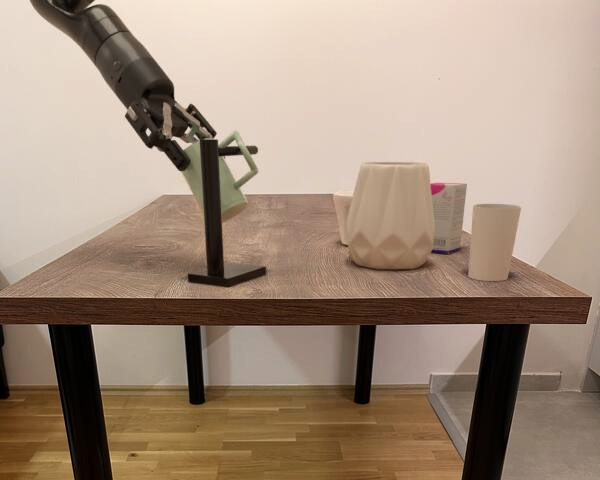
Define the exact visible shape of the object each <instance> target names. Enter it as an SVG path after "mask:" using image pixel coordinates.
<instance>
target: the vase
mask: <svg viewBox="0 0 600 480" xmlns="http://www.w3.org/2000/svg"><path fill="white" fill-rule="evenodd" d="M430 183H431V173H430V166H429V164H427V163H426V162H417V161H365V162H362V163H361V164H360V167H359V170H358V174H357V178H356V182H355V185H354V189H353V191H354V194H353V198H352V202H351V206H350V210H349V215H348V219H347V224H346V230H347V236H348V246H347V248H348V254H349V256H350V258H351V259H352V260H353V262H354V263H355V264H356V265H357V266H358V267H363V268H367V269H369V268H370V269H373V270H374V269H375V270H391V271H392V270H395V271H397V270H415V269H417V268H419V267H421V266H423V265H424V264H425V263H426V262H427V260H428V259H429V257H430V255H431V251H432V249H433V239H434V231H435V221H434V212H433V203H432V194H431V186H430Z"/></svg>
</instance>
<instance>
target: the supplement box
mask: <svg viewBox="0 0 600 480" xmlns="http://www.w3.org/2000/svg"><path fill="white" fill-rule="evenodd" d="M430 186H431V194H432V203H433V212H434V221H435V231H434V239H433V249H432V251H431V253H432V254H442V255H450V254H453V253H456V252H459V251H460V250H461V244H462V234H463V225H464V215H465V207H466V206H465V205H466V197H467V188H468V184H467V183H462V182H461V183H459V182H432V183H431V182H430ZM431 253H430V254H431Z"/></svg>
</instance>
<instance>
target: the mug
mask: <svg viewBox="0 0 600 480" xmlns="http://www.w3.org/2000/svg"><path fill="white" fill-rule="evenodd" d="M206 139H213V138H206ZM234 141H235V143H236V146H239V148H240V150H241V152H242V154H243V155H242V157H243V158H244V160H245V162H246V163H247V166H248V167H249V169H250V170H249V171H247V172H246V173H245V174H244V175H243V176H241V178H239V179H237V178H236V177H235V175H234V173H233V171H232V169H231V167H230V166H229V164H228V162H227V160H226V157H225V158H224V156H219V171H220V192H221V213H222V224H224V223H226V222H228V221H229V220H231V219H233V218H235V217H237V216H238V215H239V214H241V213H243V211H245V209H246V208H247V207H248V206H249V202H248V200H247V199H248V198H247V197H246V195H245V193H244V192H243V190H242V187H243V186H244V185H246V184H247V182H249V181H251V179H253V178H254V177H255V176H257V174H259V168H258V167H257V165H256V163H255V160H254V159H253V157H252V155H250V153H249V151H248V149H247V148H246V146H247V145H246V144H245V141H244V140H243V138H242V136H241V134H240V132H239V131H238V130H233V131H232V132H231V133H230V134H229V135H228V136H226V137H225V138H224V139H223V140H222V141H221V142H220V143H218V147H224V146H229V145H231V144H232V143H233V142H234ZM183 151H184V152H185V153H186V154H187V156H188V157H189V158H190V164H189V165H188V167H187V168H186V170H185V171H180V173H181V175H182V177H183V179H184V181H185V183H186V184H187V186H188V188H189V190H190V191H191V193H192V195H193V197H194V199H195V201H196V202H197V204H198V206H199V208H200V210H201V211H202V213H203V214H204V208H203V191H202V174H201V157H200V140H199V141H198V142H196V143H194V144H192V143H191V144H189V145H188V146H187V147H185V148H184V149H183Z"/></svg>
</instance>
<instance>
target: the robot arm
mask: <svg viewBox="0 0 600 480" xmlns="http://www.w3.org/2000/svg"><path fill="white" fill-rule="evenodd" d="M29 2H30V4H31V6H32V7H33V9H34V10H35V12H36V13H37V14H38V15H39V16H40V17H41V18H42V19H44V20H45V21H46V22H47V23H49V24H50V25H51V26H53V27H54V28H56V29H58V30H59V31H60V32H62V33H63V34H65V35H66V36H67V37H68V38H70V39H71V40H72V41H73V42H74V43H76V45H77V46H78V47H79V48H80V49H81V50H82V51H83V53H84V54H85V55H86V56H87V57H88V59H89V60H90V61H91V62H92V64H93V65H94V67H95V68H96V69H97V71H98V72H99V74H100V75H101V77H102V79H103V80H104V82H105V83H106V84H107V86H108V87H109V88H110V90H111V91H112V92H113V94H114V95H115V96H116V97H117V99H118V100H119V102H121V104H122V105H123V106H124V107H125V109H126V113H125V114H124V117H125V120H126V121H127V122H128V123H129V125H130V126H131V127H132V129H133V130H134V132H135V133H136V134H137V136H138V137H139V138H140V140H141V141H142V142H143V144H144V145H145V147H147V148H148V149H150V150H152V149H154V148H156V149H157V151H159V152H161V153H164V154H165V156H166V157H167V158H168V159H169V161H170V162H171V163H172V165H173V166H174V167H175V168H176V170H178V172H181V171H185V170H186V168H187V167H188V165H189V164H190V158H189V157H188V156H187V154H186V153H185V152H184V151H183V150H184V149H183V148H182V147H181V145H180V144H179V143H178V142H177V140H176V139H173V137H174V138H179V139H180V140H181V141H182V142H184V143H186V144H190V143H191V145H192V144H194V143H196V142H198V141H200V139H206V138H213V139H215V137H216V136H217V134H218V132H217V131H216V130H215V129H214V127H213V126H212V125H211V124H210V122H209V121H208V120H207V119H206V118H205V116H204V115H203V114H202V113H201V112H200V111H199V109H198V108H197V107H196V106H195V105H194V104H193V103H189V104H188V106H187V107H186V108H184V107H183V106H182V105H181V104H180V103H179V102H178V101H177V100H176V99H175V85H174V83H173V81H172V80H171V79H170V77H169V76H168V75H167V73H166V72H165V71H164V69H163V68H162V67H161V65H160V64H159V63H158V62H157V60H155V58H154V57H153V56H152V54H151V53H150V52H149V51H148V49H147V48H146V47H145V46H144V44H142V43H141V41H140V40H138V38H136V36H135V35H134V33H132V31H131V30H130V29H129V27H127V26H126V24H125V23H124V22H123V21H122V19H121V18H120V16H119V14H117V13H116V12H115V10H113V9H112V7H110V6H108V5H107V4H103V3H98V4H93V3H94V2H96V0H29ZM92 4H93V5H92ZM188 128H189V131H188V132H187V133H186V131H187V130H188ZM147 130H149V132H150V133H149V135H148V134H147ZM224 158H225V159H226V156H224Z"/></svg>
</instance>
